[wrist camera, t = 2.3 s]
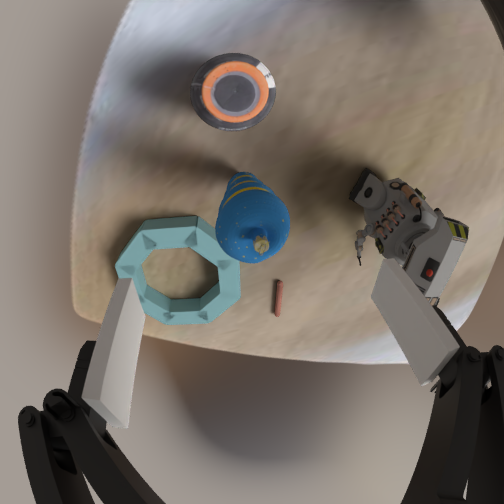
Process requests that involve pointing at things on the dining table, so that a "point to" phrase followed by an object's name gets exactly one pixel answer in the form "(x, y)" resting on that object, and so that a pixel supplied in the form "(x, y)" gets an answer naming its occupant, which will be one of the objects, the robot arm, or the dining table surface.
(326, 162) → the dining table surface
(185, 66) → the dining table surface
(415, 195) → the figurine
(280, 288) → the reddish pink rod
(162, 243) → the teal octagonal ring
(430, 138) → the dining table surface
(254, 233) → the ornament
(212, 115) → the pill bottle
